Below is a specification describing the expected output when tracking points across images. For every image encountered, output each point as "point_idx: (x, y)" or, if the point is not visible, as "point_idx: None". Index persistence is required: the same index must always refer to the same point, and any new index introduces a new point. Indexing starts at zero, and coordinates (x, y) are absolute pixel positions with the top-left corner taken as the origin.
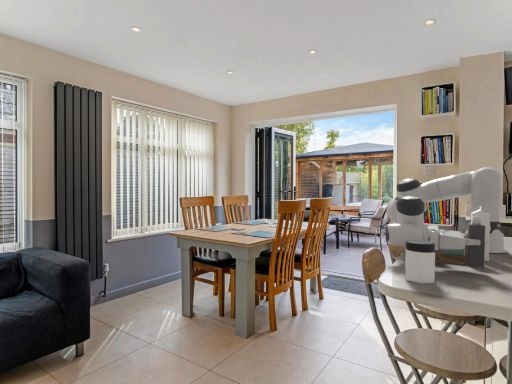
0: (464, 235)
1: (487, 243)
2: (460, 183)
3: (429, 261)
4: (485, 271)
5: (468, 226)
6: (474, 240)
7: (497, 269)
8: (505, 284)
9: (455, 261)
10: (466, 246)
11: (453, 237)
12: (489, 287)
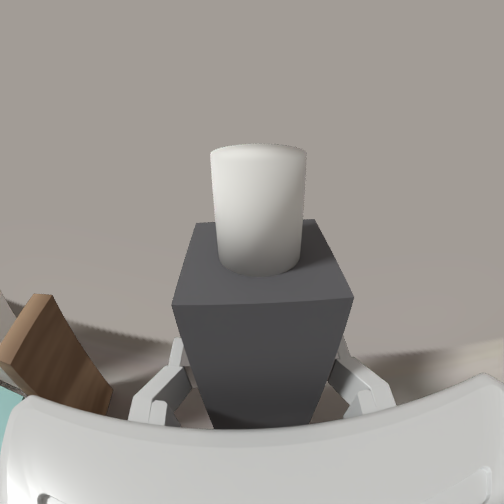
0: (144, 409)
1: (5, 308)
2: None
3: None
4: (196, 401)
5: (226, 326)
6: (348, 359)
7: (141, 360)
8: (366, 358)
9: None
10: (53, 401)
11: None
12: (436, 382)
